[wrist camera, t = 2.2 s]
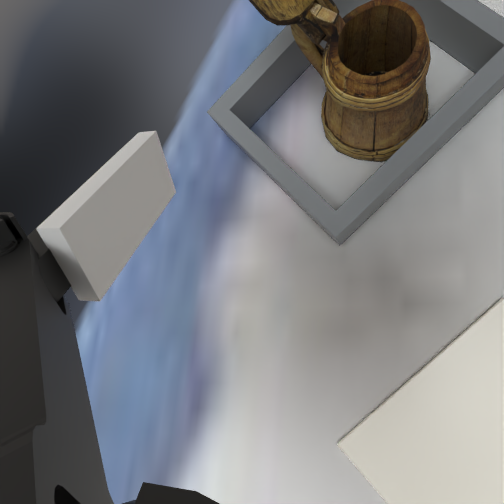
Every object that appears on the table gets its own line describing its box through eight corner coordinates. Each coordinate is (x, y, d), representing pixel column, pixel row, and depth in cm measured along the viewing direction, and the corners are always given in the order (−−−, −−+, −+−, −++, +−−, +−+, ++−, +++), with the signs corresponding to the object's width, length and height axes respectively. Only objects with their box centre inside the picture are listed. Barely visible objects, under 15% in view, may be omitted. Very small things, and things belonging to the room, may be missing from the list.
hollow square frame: (372, -22, 38) (373, -69, 33) (514, 77, 33) (538, 40, 29) (225, 134, 40) (206, 112, 35) (339, 245, 36) (335, 237, 31)
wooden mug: (315, 36, 39) (274, -173, 22) (448, 91, 35) (527, -111, 18) (267, 116, 39) (189, -26, 22) (392, 179, 35) (417, 66, 18)
